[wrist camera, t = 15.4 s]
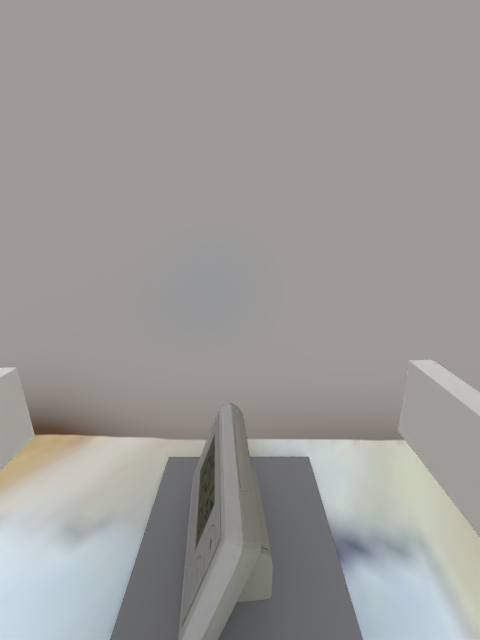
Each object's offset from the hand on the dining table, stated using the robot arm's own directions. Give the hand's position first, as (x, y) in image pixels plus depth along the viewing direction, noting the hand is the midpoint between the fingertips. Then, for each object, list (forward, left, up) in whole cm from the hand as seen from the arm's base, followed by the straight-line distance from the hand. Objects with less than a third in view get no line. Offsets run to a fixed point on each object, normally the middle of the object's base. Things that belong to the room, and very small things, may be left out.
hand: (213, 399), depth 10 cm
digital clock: (+1, -11, -23) cm, 25 cm away
